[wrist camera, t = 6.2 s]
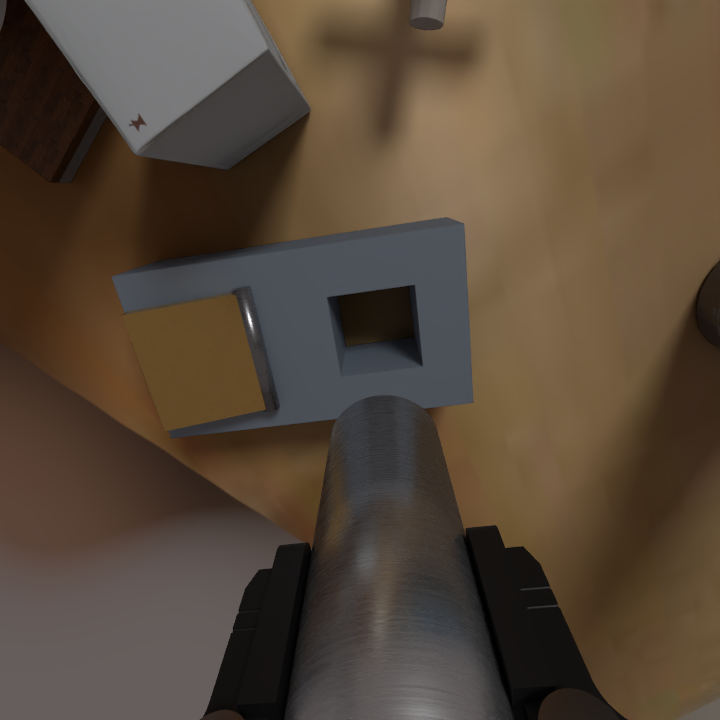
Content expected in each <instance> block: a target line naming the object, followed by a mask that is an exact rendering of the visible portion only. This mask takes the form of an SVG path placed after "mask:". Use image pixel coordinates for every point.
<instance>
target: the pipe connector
mask: <svg viewBox="0 0 720 720" xmlns="http://www.w3.org/2000/svg"><path fill="white" fill-rule="evenodd" d="M446 4H447V0H411V7H410V16H409V24H410V25H411V26H412V27H414V28H417V29H421V30H436V29H440V28H441V27H443V24H444V17H445V11H446Z"/></svg>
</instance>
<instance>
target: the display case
mask: <svg viewBox="0 0 720 720" xmlns="http://www.w3.org/2000/svg"><path fill="white" fill-rule="evenodd" d="M106 117H107V114H106V113H105V111H104V110H103V109H102V107H101V106H100V104H99V103H98V102H97V100H96V99H95V98H94V96H93V95H92V93H91V92H90V90H89V89H88V88H87V86H86V85H85V84H84V83H83V82H82V81H81V79H80V78H79V76H78V75H77V73H76V72H75V70H74V69H73V67H72V66H71V64H70V63H69V61H68V60H67V58H66V57H65V56H64V54H63V53H62V51H61V50H60V49H59V47H58V46H57V44H56V43H55V42H54V40H53V39H52V38H51V36H50V35H49V33H48V32H47V31H46V29H45V28H44V26H43V25H42V23H41V22H40V21H39V19H38V18H37V16H36V15H35V14H34V12H33V11H32V10H31V8H30V7H29V6H28V4H27V3H26V2H25V0H0V144H1V145H2V146H3V147H5V148H6V149H7V150H9V151H10V152H11V153H12V154H14V155H15V156H16V157H18V158H19V159H20V160H21V161H23V162H24V163H25V164H27V165H28V166H29V167H31V168H32V169H33V170H34V171H36V172H37V173H38V174H40V175H41V176H42V177H43V178H45V179H46V180H47V181H49V182H54V183H70V182H71V180H72V179H73V177H74V175H75V173H76V171H77V170H78V168H79V166H80V164H81V162H82V161H83V159H84V157H85V155H86V153H87V152H88V150H89V148H90V146H91V144H92V142H93V141H94V139H95V137H96V135H97V133H98V132H99V130H100V128H101V126H102V124H103V123H104V121H105V119H106Z"/></svg>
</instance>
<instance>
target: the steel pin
mask: <svg viewBox="0 0 720 720" xmlns="http://www.w3.org/2000/svg"><path fill="white" fill-rule="evenodd" d="M284 720H516V718H515V716H514V713H513V710H512V706H511V702H510V699H509V695H508V691H507V687H506V684H505V680H504V676H503V673H502V669H501V665H500V662H499V658H498V654H497V650H496V647H495V643H494V639H493V636H492V632H491V628H490V624H489V621H488V617H487V613H486V610H485V606H484V602H483V599H482V595H481V591H480V587H479V584H478V580H477V576H476V573H475V569H474V565H473V562H472V558H471V554H470V550H469V547H468V543H467V539H466V534H465V530H464V527H463V523H462V519H461V516H460V512H459V508H458V505H457V501H456V497H455V494H454V490H453V486H452V483H451V479H450V475H449V472H448V468H447V464H446V460H445V457H444V453H443V449H442V446H441V442H440V438H439V435H438V431H437V428H436V425H435V423H434V421H433V419H432V418H431V417H430V415H429V414H428V413H427V412H426V411H425V410H424V409H423V408H422V407H420V406H419V405H417V404H416V403H414V402H412V401H410V400H408V399H405V398H402V397H398V396H392V395H378V396H372V397H368V398H365V399H362V400H360V401H357V402H355V403H354V404H352V405H350V406H349V407H348V408H347V409H345V410H344V411H343V412H342V413H341V415H340V416H339V417H338V419H337V420H336V422H335V424H334V426H333V429H332V432H331V438H330V444H329V450H328V456H327V462H326V468H325V474H324V480H323V486H322V492H321V498H320V504H319V510H318V516H317V522H316V528H315V534H314V540H313V546H312V552H311V558H310V564H309V570H308V576H307V582H306V588H305V594H304V600H303V606H302V612H301V618H300V624H299V630H298V636H297V642H296V648H295V654H294V660H293V666H292V672H291V678H290V684H289V690H288V696H287V702H286V708H285V714H284Z"/></svg>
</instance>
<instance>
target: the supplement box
mask: <svg viewBox="0 0 720 720" xmlns="http://www.w3.org/2000/svg"><path fill="white" fill-rule="evenodd" d="M25 2H26V3H27V4H28V6H29V7H30V8H31V10H32V11H33V12H34V14H35V15H36V16H37V18H38V19H39V21H40V22H41V23H42V25H43V26H44V28H45V29H46V31H47V32H48V33H49V35H50V36H51V38H52V39H53V40H54V42H55V43H56V44H57V46H58V47H59V49H60V50H61V51H62V53H63V54H64V56H65V57H66V58H67V60H68V61H69V63H70V64H71V66H72V67H73V69H74V70H75V72H76V73H77V75H78V76H79V78H80V79H81V81H82V82H83V83H84V84H85V85H86V86H87V88H88V89H89V90H90V92H91V93H92V95H93V96H94V98H95V99H96V100H97V102H98V103H99V104H100V106H101V107H102V109H103V110H104V111H105V113H106V114H107V116H108V117H109V118H110V120H111V121H112V123H113V124H114V125H115V127H116V128H117V130H118V131H119V132H120V134H121V135H122V137H123V138H124V139H125V141H126V142H127V144H128V145H129V147H130V148H131V150H132V151H133V153H134V154H135V155H137V156H143V157H149V158H156V159H161V160H168V161H174V162H181V163H187V164H193V165H200V166H206V167H213V168H219V169H225V170H228V169H229V168H231V167H232V166H234V165H235V164H237V163H238V162H239V161H241V160H242V159H244V158H245V157H246V156H248V155H249V154H251V153H252V152H253V151H255V150H256V149H258V148H259V147H261V146H262V145H263V144H265V143H266V142H268V141H269V140H270V139H272V138H273V137H275V136H276V135H278V134H279V133H280V132H282V131H283V130H285V129H286V128H288V127H289V126H290V125H292V124H293V123H295V122H296V121H297V120H299V119H300V118H302V117H303V116H304V115H306V114H307V113H309V112H310V110H311V108H310V106H309V104H308V102H307V101H306V99H305V97H304V95H303V93H302V92H301V90H300V88H299V86H298V84H297V82H296V81H295V79H294V77H293V75H292V73H291V71H290V70H289V68H288V66H287V64H286V62H285V60H284V59H283V57H282V55H281V53H280V51H279V50H278V48H277V46H276V44H275V42H274V41H273V39H272V37H271V35H270V33H269V32H268V30H267V28H266V26H265V25H264V23H263V21H262V19H261V17H260V16H259V14H258V12H257V10H256V9H255V7H254V5H253V4H252V2H251V0H25Z"/></svg>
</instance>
